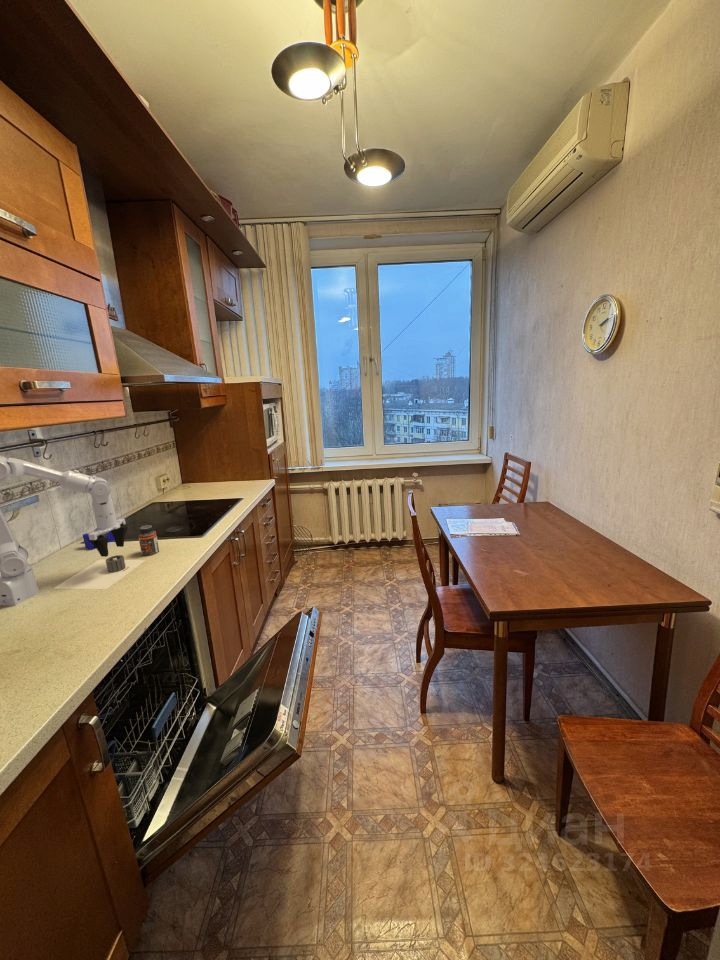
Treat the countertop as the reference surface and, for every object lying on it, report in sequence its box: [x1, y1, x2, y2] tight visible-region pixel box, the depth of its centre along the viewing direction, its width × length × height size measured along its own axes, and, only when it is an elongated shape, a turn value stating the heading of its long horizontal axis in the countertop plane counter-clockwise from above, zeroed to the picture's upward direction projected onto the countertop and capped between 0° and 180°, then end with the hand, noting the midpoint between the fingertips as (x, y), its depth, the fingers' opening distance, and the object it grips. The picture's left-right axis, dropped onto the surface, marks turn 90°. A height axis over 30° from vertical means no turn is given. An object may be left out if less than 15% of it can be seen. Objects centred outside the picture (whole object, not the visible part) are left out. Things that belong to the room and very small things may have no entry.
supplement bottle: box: [138, 525, 160, 557], centre depth 143 cm, size 6×6×11 cm
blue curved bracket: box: [82, 531, 115, 551], centre depth 156 cm, size 12×4×6 cm, turn 152°
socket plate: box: [53, 558, 146, 590], centre depth 129 cm, size 20×18×5 cm
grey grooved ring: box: [105, 554, 126, 573], centre depth 131 cm, size 5×5×4 cm
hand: (112, 551), depth 130 cm, fingers open, 7 cm apart
